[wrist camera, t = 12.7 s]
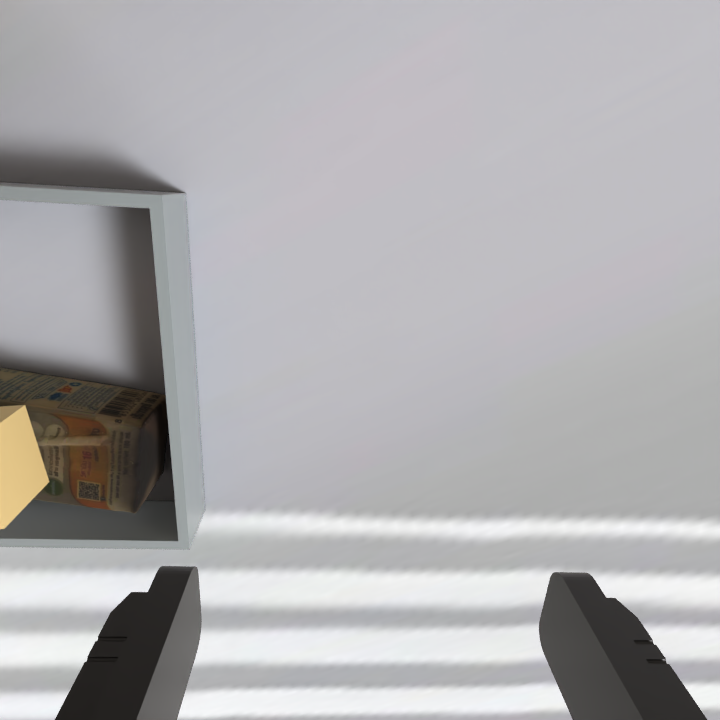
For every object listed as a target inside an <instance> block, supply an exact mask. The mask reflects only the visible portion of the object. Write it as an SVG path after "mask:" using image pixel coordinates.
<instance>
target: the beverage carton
mask: <svg viewBox="0 0 720 720" xmlns="http://www.w3.org/2000/svg"><path fill="white" fill-rule="evenodd" d="M16 405H25V406H26V409H27V413H28V416H29V419H30V422H31V425H32V428H33V432H34V435H35V438H36V441H37V444H38V447H39V451H40V454H41V457H42V460H43V463H44V466H45V470H46V473H47V476H48V479H49V483H48V484H47V485H46V486H45V487H44V488H43V489H42V490H41V491H40V492H39V493H38V494H37V495H36V496H35V497H34V498H33V499H34V500H41V501H47V502H54V503H62V504H70V505H76V506H84V507H90V508H98V509H106V510H112V511H124V512H131V513H136V512H138V510H139V509H140V507H141V506H142V504H143V503H144V501H145V500H146V498H147V497H148V495H149V494H150V492H151V491H152V489H153V488H154V486H155V484H156V482H157V481H158V480H159V478H160V476H161V474H162V473H163V468H164V459H165V449H166V440H167V433H168V415H167V404H166V395H164V394H158V393H154V392H148V391H143V390H137V389H131V388H126V387H120V386H113V385H107V384H101V383H95V382H88V381H81V380H75V379H69V378H64V377H57V376H50V375H43V374H37V373H31V372H25V371H18V370H12V369H6V368H0V407H1V406H16Z"/></svg>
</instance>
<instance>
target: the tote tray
mask: <svg viewBox="0 0 720 720" xmlns="http://www.w3.org/2000/svg"><path fill="white" fill-rule="evenodd" d="M0 200H10V201H27V202H45V203H63V204H80V205H98V206H116V207H133V208H150V219H151V231H152V242H153V254H154V265H155V277H156V288H157V300H158V311H159V323H160V334H161V346H162V358H163V369H164V381H165V392H166V404H167V415H168V427H169V438H170V450H171V461H172V473H173V485H174V496H175V501H144V503H143V504H142V506H141V507H140V509H139V510H138V512H136V513H131V512H124V511H112V510H106V509H98V508H90V507H84V506H76V505H70V504H62V503H54V502H47V501H41V500H34V499H32V500H31V502H30V503H29V504H28V505H27V506H26V507H25V508H24V509H23V510H22V511H21V512H20V513H19V514H18V515H17V516H16V517H15V518H14V519H13V520H12V521H11V522H10V523H9V525H8V526H7V527H6V528H5V529H0V547H41V548H109V549H178V550H190V547H191V545H192V542H193V539H194V537H195V534H196V532H197V529H198V527H199V524H200V522H201V519H202V517H203V514H204V512H205V495H204V479H203V463H202V447H201V430H200V414H199V398H198V381H197V365H196V349H195V333H194V316H193V300H192V284H191V268H190V251H189V235H188V219H187V202H186V193H176V192H159V191H142V190H125V189H108V188H91V187H74V186H57V185H40V184H23V183H6V182H0Z"/></svg>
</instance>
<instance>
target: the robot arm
mask: <svg viewBox="0 0 720 720" xmlns="http://www.w3.org/2000/svg"><path fill="white" fill-rule="evenodd" d="M200 633H201V605H200V591H199V577H198V569H197V567H182V566H162V567H160V568H159V570H158V571H157V573H156V576H155V578H154V580H153V582H152V584H151V587H150V589H149V591H148V592H131V593H130V594H129V595H128V596H127V597H126V598H125V599H124V600H123V601H122V602H121V603H120V604H119V605H118V606H117V607H116V608H115V609H114V610H113V611H112V612H111V613H110V615H109V617H108V619H107V621H106V623H105V624H104V626H103V628H102V630H101V632H100V634H99V636H98V641H96V642H95V644H94V646H93V648H92V649H91V651H90V653H89V655H88V659H87V662H85V663H84V665H83V667H82V669H81V671H80V672H79V674H78V676H77V678H76V680H75V682H74V684H73V686H72V688H71V690H70V692H69V694H68V695H67V697H66V699H65V701H64V703H63V705H62V707H61V709H60V711H59V713H58V715H57V717H56V719H55V720H177V717H178V714H179V710H180V707H181V704H182V700H183V697H184V693H185V690H186V687H187V683H188V680H189V676H190V673H191V670H192V666H193V663H194V660H195V656H196V653H197V649H198V645H199V640H200ZM539 635H540V641H541V646H542V649H543V652H544V655H545V657H546V659H547V661H548V664H549V666H550V668H551V671H552V673H553V675H554V677H555V680H556V682H557V684H558V687H559V689H560V691H561V693H562V696H563V698H564V700H565V703H566V705H567V707H568V709H569V712H570V714H571V716H572V719H573V720H707V719H706V717H705V716H704V714H703V713H702V711H701V710H700V708H699V707H698V705H697V704H696V703H695V701H694V700H693V698H692V697H691V695H690V694H689V692H688V691H687V689H686V688H685V686H684V685H683V684H682V682H681V681H680V679H679V678H678V676H677V675H676V673H675V672H674V670H673V669H672V668H671V666H670V665H669V664H667V663H666V659H665V657H664V656H663V654H662V653H661V651H660V650H659V649H658V647H657V646H656V645H654V644H653V640H652V638H651V637H650V635H649V634H648V632H647V631H646V630H645V628H644V627H643V625H642V624H641V622H640V621H639V619H638V618H637V617H636V616H635V615H634V614H633V613H632V612H630V611H629V610H628V609H627V608H626V607H625V606H624V605H622V604H621V603H620V602H619V601H618V600H617V599H616V598H606V597H605V595H604V594H603V592H602V591H601V589H600V587H599V586H598V584H597V583H596V581H595V580H594V578H593V577H592V576H591V575H590V574H588V573H565V572H555V573H553V574H552V575H551V577H550V581H549V585H548V589H547V593H546V597H545V601H544V605H543V609H542V613H541V618H540V622H539Z"/></svg>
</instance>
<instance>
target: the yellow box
mask: <svg viewBox="0 0 720 720" xmlns="http://www.w3.org/2000/svg"><path fill="white" fill-rule="evenodd" d="M48 483H49V479H48V476H47V473H46V470H45V466H44V463H43V460H42V457H41V454H40V451H39V447H38V444H37V441H36V438H35V435H34V432H33V428H32V425H31V422H30V419H29V416H28V413H27V409H26V406H25V405H16V406H1V407H0V529H5V528H6V527H7V526H8V525H9V523H10V522H11V521H12V520H13V519H14V518H15V517H16V516H17V515H18V514H19V513H20V512H21V511H22V510H23V509H24V508H25V507H26V506H27V505H28V504H29V503H30V502H31V500H32V499H33V498H34V497H35V496H36V495H37V494H38V493H39V492H40V491H41V490H42V489H43V488H44V487H45V486H46V485H47V484H48Z"/></svg>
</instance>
